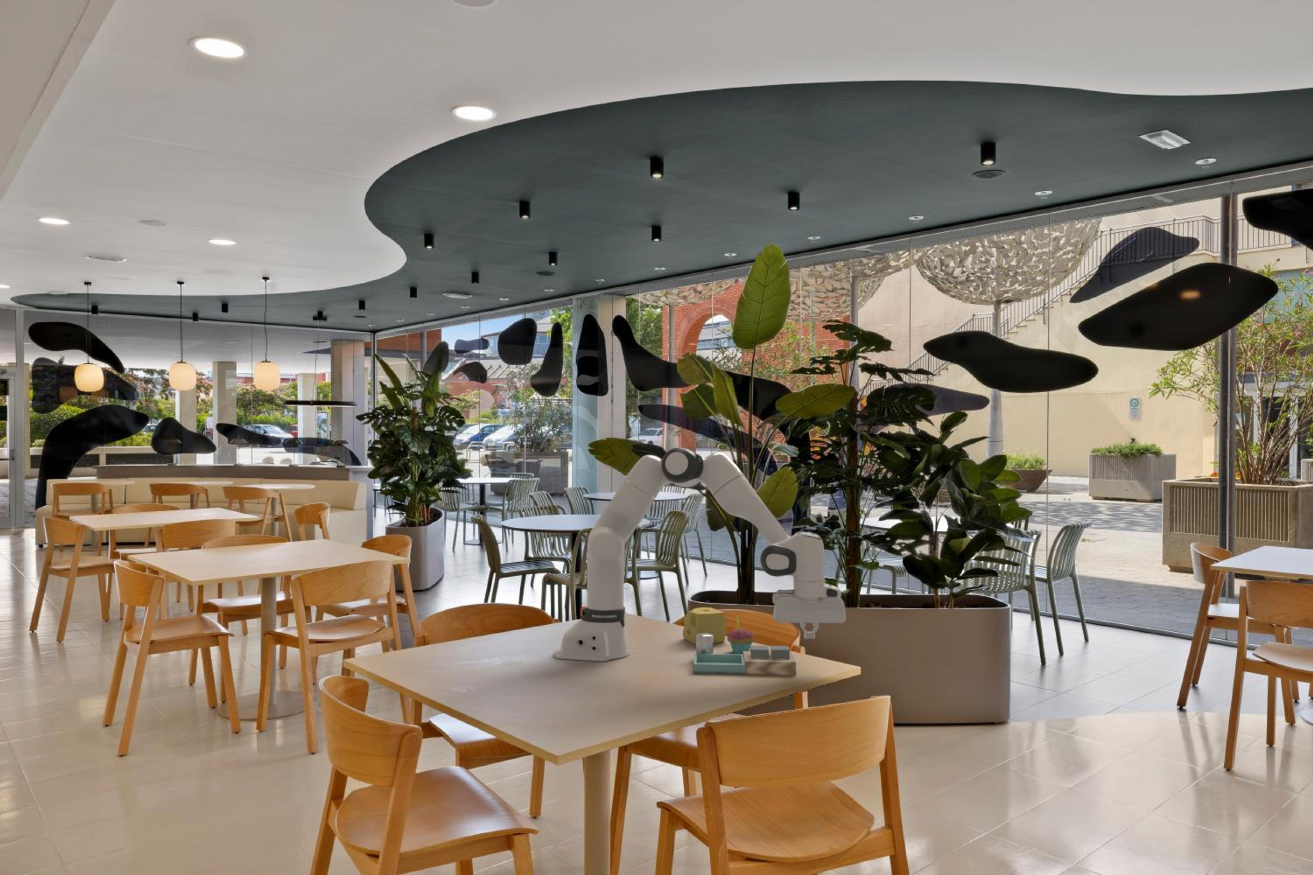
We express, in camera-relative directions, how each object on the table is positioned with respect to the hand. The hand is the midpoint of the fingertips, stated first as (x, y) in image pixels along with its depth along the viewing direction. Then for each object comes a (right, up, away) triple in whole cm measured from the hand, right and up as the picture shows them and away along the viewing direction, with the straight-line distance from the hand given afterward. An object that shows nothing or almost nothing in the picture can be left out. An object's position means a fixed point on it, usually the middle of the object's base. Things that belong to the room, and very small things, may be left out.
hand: (809, 638), depth 257 cm
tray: (-26, -9, +1) cm, 27 cm away
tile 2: (-8, -5, 0) cm, 10 cm away
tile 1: (-14, -5, +1) cm, 15 cm away
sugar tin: (-29, -9, +12) cm, 33 cm away
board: (-12, -9, 0) cm, 14 cm away
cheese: (-28, -9, +36) cm, 47 cm away
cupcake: (-18, -9, +21) cm, 29 cm away
